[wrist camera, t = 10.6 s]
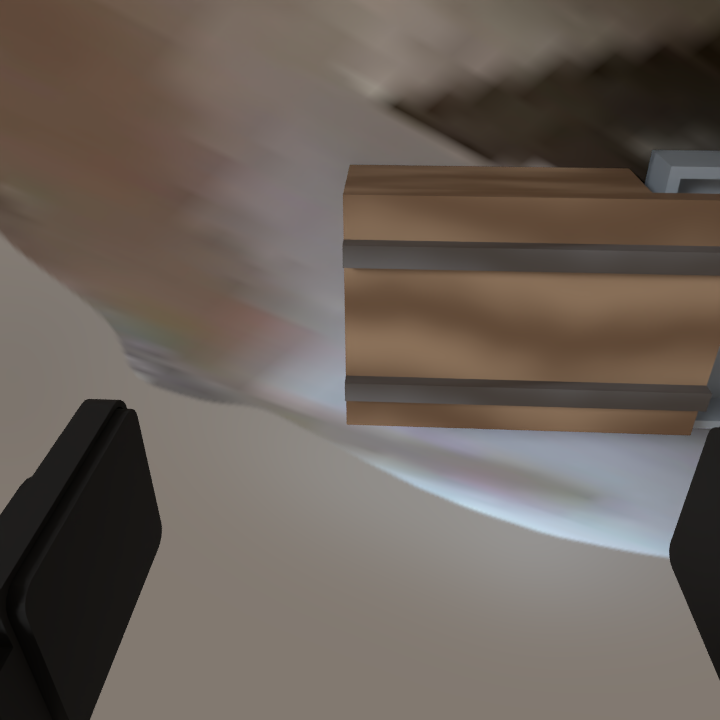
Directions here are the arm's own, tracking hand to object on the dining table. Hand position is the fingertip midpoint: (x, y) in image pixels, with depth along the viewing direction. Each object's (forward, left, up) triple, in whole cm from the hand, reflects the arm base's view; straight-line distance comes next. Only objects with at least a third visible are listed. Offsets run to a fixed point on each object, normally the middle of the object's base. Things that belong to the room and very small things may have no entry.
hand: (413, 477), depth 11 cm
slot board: (+10, +7, -28) cm, 31 cm away
